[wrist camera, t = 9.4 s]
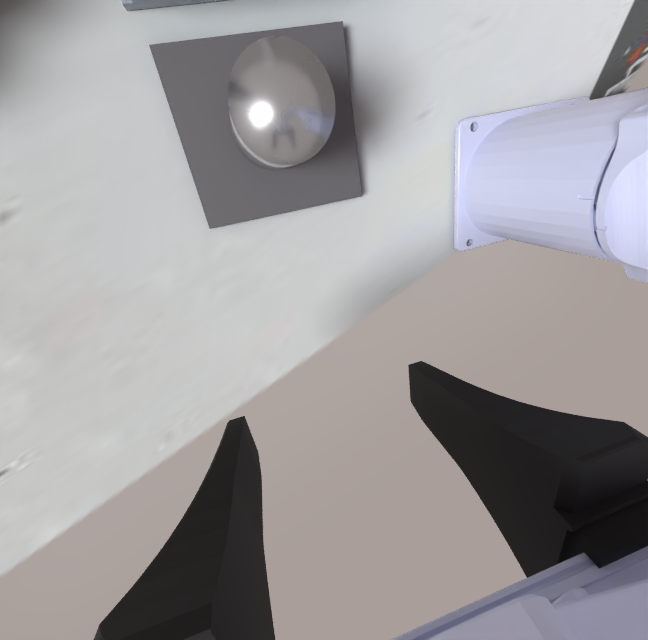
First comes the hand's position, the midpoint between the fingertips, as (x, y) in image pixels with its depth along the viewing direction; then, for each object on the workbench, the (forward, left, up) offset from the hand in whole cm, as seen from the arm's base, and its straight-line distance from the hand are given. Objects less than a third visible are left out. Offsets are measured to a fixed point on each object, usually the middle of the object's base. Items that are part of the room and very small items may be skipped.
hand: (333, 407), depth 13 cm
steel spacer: (-1, -11, -9) cm, 14 cm away
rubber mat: (-1, -11, -9) cm, 15 cm away
